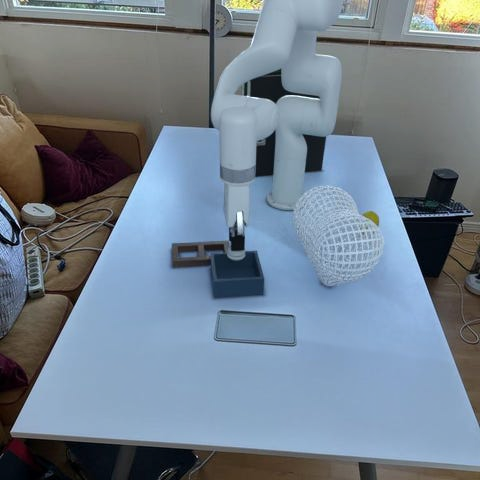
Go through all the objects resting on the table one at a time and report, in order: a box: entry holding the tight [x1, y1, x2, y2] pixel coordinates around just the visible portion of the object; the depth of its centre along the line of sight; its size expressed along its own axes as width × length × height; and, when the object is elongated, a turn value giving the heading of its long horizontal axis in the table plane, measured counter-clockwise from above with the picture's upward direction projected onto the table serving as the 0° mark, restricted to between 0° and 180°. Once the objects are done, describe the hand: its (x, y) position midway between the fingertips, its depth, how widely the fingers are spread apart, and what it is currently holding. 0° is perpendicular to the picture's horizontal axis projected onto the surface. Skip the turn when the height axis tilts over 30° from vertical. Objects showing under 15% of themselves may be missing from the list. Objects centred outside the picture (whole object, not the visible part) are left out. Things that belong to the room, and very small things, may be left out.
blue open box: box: [209, 250, 265, 299], centre depth 116 cm, size 12×12×5 cm
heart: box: [292, 185, 385, 287], centre depth 111 cm, size 28×16×22 cm, turn 14°
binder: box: [240, 68, 327, 178], centre depth 159 cm, size 27×15×32 cm, turn 102°
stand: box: [171, 239, 231, 269], centre depth 125 cm, size 9×16×2 cm, turn 97°
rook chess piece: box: [227, 227, 246, 261], centre depth 110 cm, size 4×4×8 cm
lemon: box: [360, 210, 380, 237], centre depth 133 cm, size 6×6×8 cm
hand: (236, 244), depth 111 cm, fingers closed on rook chess piece, 3 cm apart
